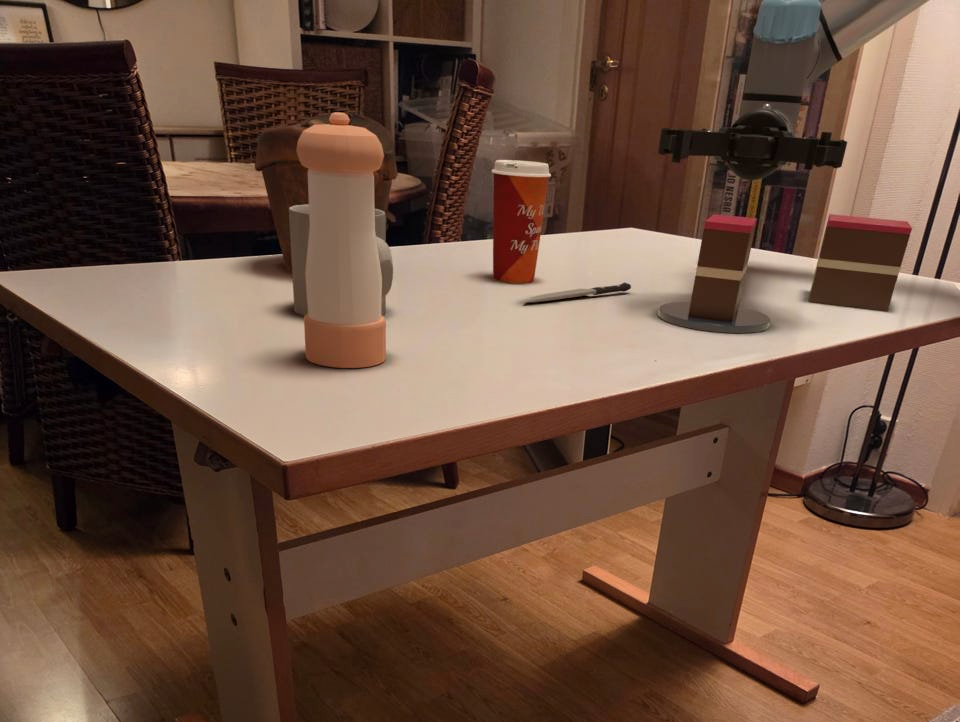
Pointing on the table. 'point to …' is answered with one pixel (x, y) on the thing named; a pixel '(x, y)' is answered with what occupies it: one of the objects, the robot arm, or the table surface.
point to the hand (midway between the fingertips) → (743, 149)
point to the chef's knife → (580, 292)
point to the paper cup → (517, 218)
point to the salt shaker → (342, 246)
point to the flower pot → (291, 178)
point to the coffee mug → (300, 247)
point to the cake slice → (722, 267)
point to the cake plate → (741, 323)
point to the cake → (859, 261)
